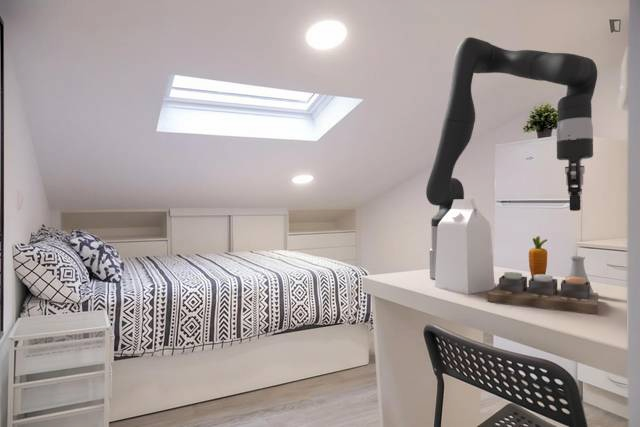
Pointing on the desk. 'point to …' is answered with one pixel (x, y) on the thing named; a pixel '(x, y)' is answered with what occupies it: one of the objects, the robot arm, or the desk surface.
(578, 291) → the button board
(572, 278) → the terracotta button
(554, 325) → the desk surface
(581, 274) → the flask
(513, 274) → the sage button
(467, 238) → the milk
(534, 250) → the carrot
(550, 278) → the grey button
